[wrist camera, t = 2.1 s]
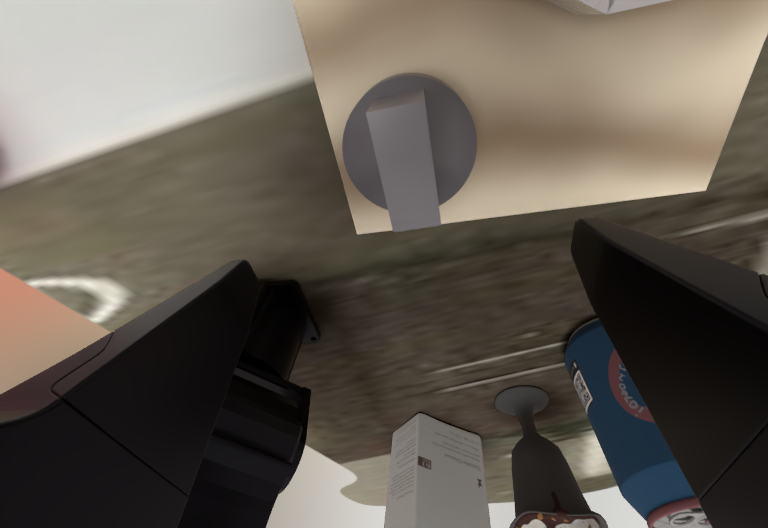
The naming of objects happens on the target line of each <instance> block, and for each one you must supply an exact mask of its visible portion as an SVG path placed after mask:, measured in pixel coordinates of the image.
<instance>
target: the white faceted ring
mask: <svg viewBox="0 0 768 528" xmlns="http://www.w3.org/2000/svg"><path fill="white" fill-rule="evenodd" d="M543 1H545V2H547V3H549V4H551V5H553V6H555V7H558V8H560V9H562V10H564V11H566V12H568V13H570V14H572V15H597V14H611V13H616V12H620V11H625V10H629V9H634V8H639V7H643V6H648V5H653V4H657V3H662V2H666V1H671V0H543Z"/></svg>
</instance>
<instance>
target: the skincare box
mask: <svg viewBox="0 0 768 528" xmlns="http://www.w3.org/2000/svg"><path fill="white" fill-rule="evenodd" d="M384 528H491V527H490V517H489V508H488V499H487V490H486V481H485V471H484V462H483V453H482V444H481V439H480V436H478V435H476V434H473V433H470V432H467V431H464V430H461V429H459V428H456V427H454V426H451V425H448V424H445V423H443V422H440V421H438V420H436V419H434V418H431V417H429V416H427V415H425V414H422V413H418V414H417V415H416V416H414V417H413V418H412V419H410V420H409V421H408V422H407V423H405V424H404V425H403V426H401V427H400V428H399V429H397V430H396V431H395V432H394V433H393V440H392V451H391V461H390V471H389V482H388V492H387V503H386V512H385V524H384Z"/></svg>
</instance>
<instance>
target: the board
mask: <svg viewBox="0 0 768 528" xmlns="http://www.w3.org/2000/svg"><path fill="white" fill-rule="evenodd" d="M293 4H294V8H295V11H296V15H297V18H298V22H299V26H300V29H301V33H302V37H303V40H304V44H305V47H306V51H307V55H308V58H309V62H310V66H311V69H312V73H313V76H314V80H315V84H316V87H317V91H318V95H319V98H320V102H321V105H322V109H323V113H324V116H325V120H326V124H327V127H328V131H329V134H330V138H331V142H332V145H333V149H334V153H335V156H336V160H337V163H338V167H339V171H340V174H341V178H342V182H343V185H344V189H345V192H346V196H347V200H348V203H349V207H350V210H351V214H352V218H353V221H354V225H355V229H356V232H357V235H359V234H366V233H374V232H382V231H390V230H393V229H392V225H391V220H390V216H389V212H388V210H386V209H383V208H381V207H379V206H377V205H375V204H373V203H372V202H371V201H369V200H368V199H367V198H365V197H364V196H363V195H362V194H361V193H360V192H359V191H358V189H357V188H356V187H355V185H354V184H353V182H352V181H351V179H350V177H349V175H348V173H347V170H346V167H345V164H344V160H343V152H342V140H343V134H344V129H345V126H346V122H347V120H348V118H349V116H350V113H351V112H352V110H353V109H354V107H355V106H356V104H357V103H358V102H359V100H360V99H361V98H362V97H363V95H364V94H365V93H366V92H367V91H368V90H369V89H370V88H371V87H372V86H374V85H375V84H377V83H378V82H380V81H381V80H383V79H386V78H388V77H390V76H393V75H396V74H402V73H421V74H426V75H430V76H433V77H435V78H437V79H439V80H441V81H443V82H444V83H446V84H447V85H449V86H450V87H451V88H452V89H453V90H454V91H455V92H456V93H457V94H458V95H459V96H460V98H461V99H462V101H463V102H464V104H465V106H466V107H467V109H468V111H469V112H470V114H471V117H472V119H473V122H474V125H475V129H476V135H477V153H476V159H475V163H474V166H473V169H472V171H471V173H470V176H469V177H468V179H467V181H466V182H465V184H464V185H463V186H462V188H461V189H460V190H459V191H458V192H457V193H456V194H455V195H454V196H453V197H452V198H451V199H449V200H448V201H447V202H445V203H443V204H442V205H440V206H439V210H440V218H441V224H445V223H453V222H461V221H469V220H477V219H485V218H493V217H501V216H508V215H516V214H524V213H532V212H540V211H548V210H556V209H564V208H572V207H580V206H587V205H595V204H603V203H611V202H619V201H627V200H635V199H643V198H651V197H658V196H666V195H674V194H682V193H690V192H698V191H706V189H707V186H708V183H709V181H710V178H711V176H712V173H713V171H714V168H715V166H716V163H717V161H718V158H719V155H720V153H721V150H722V148H723V145H724V143H725V140H726V138H727V135H728V133H729V130H730V128H731V125H732V122H733V120H734V117H735V115H736V112H737V110H738V107H739V105H740V102H741V100H742V97H743V95H744V92H745V89H746V87H747V84H748V82H749V79H750V77H751V74H752V72H753V69H754V67H755V64H756V61H757V59H758V56H759V54H760V51H761V49H762V46H763V44H764V41H765V39H766V36H767V34H768V0H671V1H666V2H662V3H657V4H653V5H648V6H643V7H639V8H634V9H629V10H625V11H620V12H616V13H611V14H597V15H572V14H570V13H568V12H566V11H564V10H562V9H560V8H558V7H555V6H553V5H551V4H549V3H547V2H545V1H543V0H293Z"/></svg>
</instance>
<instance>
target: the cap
mask: <svg viewBox="0 0 768 528" xmlns="http://www.w3.org/2000/svg"><path fill="white" fill-rule="evenodd" d="M342 152H343V160H344V164H345V167H346V170H347V173H348V175H349V177H350V179H351V181H352V182H353V184H354V185H355V187H356V188H357V189H358V191H359V192H360V193H361V194H362V195H363V196H364V197H365V198H367V199H368V200H369V201H371V202H372V203H373V204H375V205H377V206H379V207H381V208H383V209H386V210H388V212H389V216H390V220H391V225H392V229H393V232H400V231H407V230H414V229H420V228H427V227H434V226H441V218H440V210H439V206H440V205H442V204H443V203H445V202H447V201H448V200H449V199H451V198H452V197H453V196H454V195H455V194H456V193H457V192H458V191H459V190H460V189H461V188H462V186H463V185H464V184H465V182H466V181H467V179H468V177H469V176H470V173H471V171H472V169H473V166H474V163H475V159H476V153H477V135H476V129H475V125H474V122H473V119H472V117H471V114H470V112H469V111H468V109H467V107H466V106H465V104H464V102H463V101H462V99H461V98H460V96H459V95H458V94H457V93H456V92H455V91H454V90H453V89H452V88H451V87H450V86H449V85H447V84H446V83H444V82H443V81H441V80H439V79H437V78H435V77H433V76H430V75H426V74H421V73H402V74H396V75H393V76H390V77H388V78H386V79H383V80H381V81H380V82H378V83H377V84H375V85H374V86H372V87H371V88H370V89H369V90H368V91H367V92H366V93H365V94H364V95H363V97H362V98H361V99H360V100H359V102H358V103H357V104H356V106H355V107H354V109H353V110H352V112H351V113H350V116H349V118H348V120H347V122H346V126H345V129H344V134H343V140H342Z"/></svg>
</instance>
